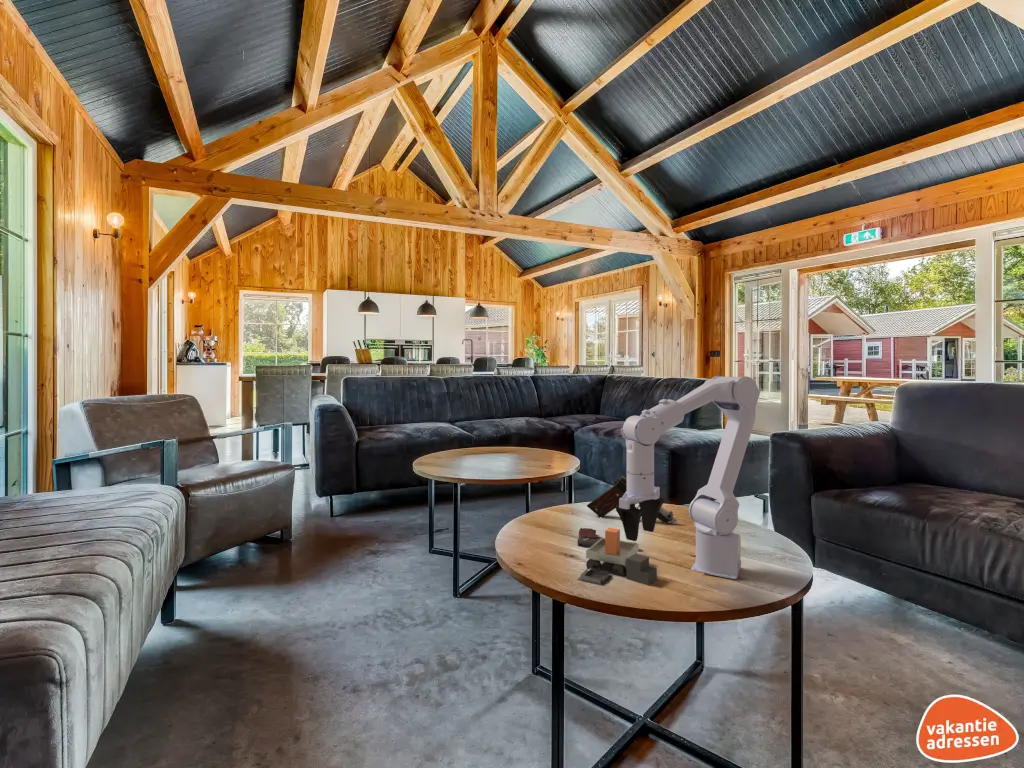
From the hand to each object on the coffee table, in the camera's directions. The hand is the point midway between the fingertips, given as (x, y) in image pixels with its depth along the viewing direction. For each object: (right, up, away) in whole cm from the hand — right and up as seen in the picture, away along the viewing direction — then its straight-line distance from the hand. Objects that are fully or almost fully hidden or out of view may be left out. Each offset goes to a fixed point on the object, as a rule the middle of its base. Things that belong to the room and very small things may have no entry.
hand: (640, 535), depth 110 cm
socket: (-10, -10, +1) cm, 14 cm away
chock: (0, -10, 0) cm, 10 cm away
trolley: (-4, -10, +8) cm, 13 cm away
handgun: (+8, -9, +44) cm, 46 cm away
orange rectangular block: (-4, -6, +8) cm, 11 cm away
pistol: (-3, -10, +25) cm, 27 cm away
